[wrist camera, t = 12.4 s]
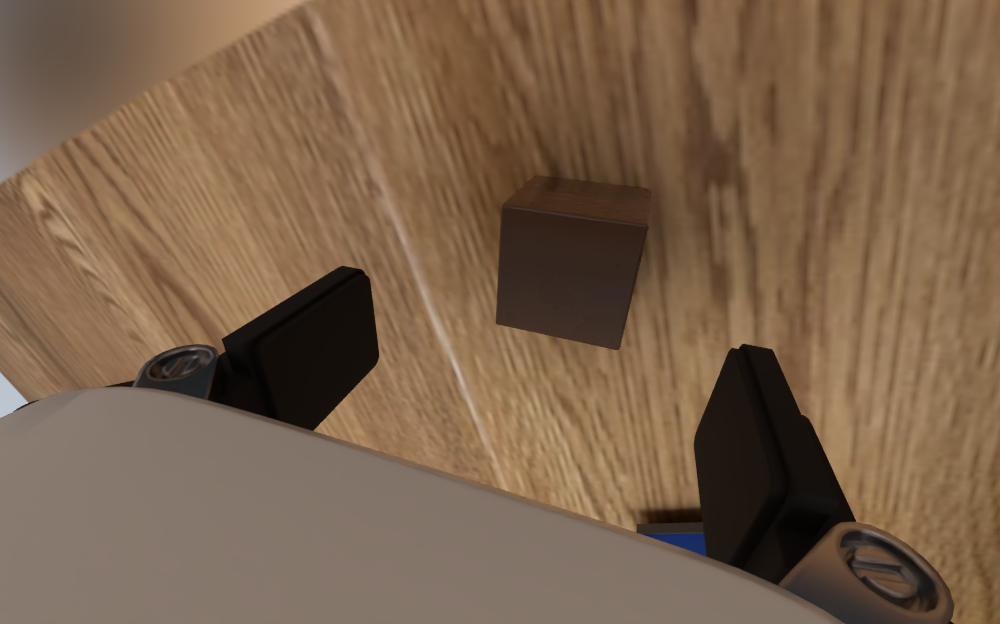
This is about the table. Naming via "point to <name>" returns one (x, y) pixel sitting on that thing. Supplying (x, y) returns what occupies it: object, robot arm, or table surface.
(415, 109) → the table surface
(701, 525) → the toy car
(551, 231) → the block
